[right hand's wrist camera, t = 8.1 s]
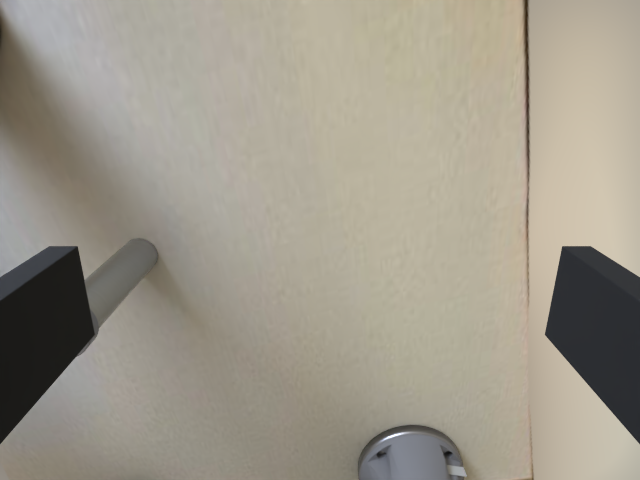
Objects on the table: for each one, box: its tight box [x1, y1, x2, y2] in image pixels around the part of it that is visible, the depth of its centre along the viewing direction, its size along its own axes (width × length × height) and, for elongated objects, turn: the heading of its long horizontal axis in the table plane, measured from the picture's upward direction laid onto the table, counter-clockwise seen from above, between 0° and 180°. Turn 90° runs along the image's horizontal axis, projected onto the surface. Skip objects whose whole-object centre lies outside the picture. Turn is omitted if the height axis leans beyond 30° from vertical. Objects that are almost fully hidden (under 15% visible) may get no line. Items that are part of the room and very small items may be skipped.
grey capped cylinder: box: [84, 238, 158, 328], centre depth 47 cm, size 4×4×18 cm
